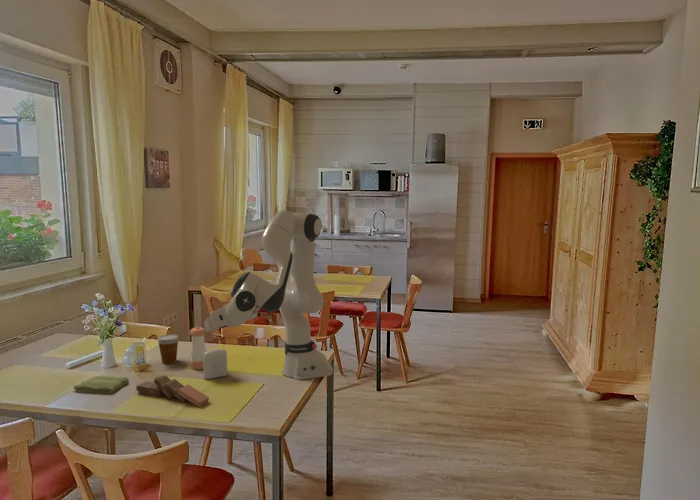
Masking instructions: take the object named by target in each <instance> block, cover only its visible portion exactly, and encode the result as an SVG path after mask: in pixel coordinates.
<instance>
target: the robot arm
mask: <svg viewBox="0 0 700 500" xmlns="http://www.w3.org/2000/svg"><path fill="white" fill-rule="evenodd" d="M321 231H322V221H321V218H320V217H319V215H316V214H314V213H306V212H299V211H296V212H292V211H290V210H286V209H282V210H278V211H277V212H276V213H275V214H274V215H273V217H271V219H270V221H269V222H268V224H267V225H266V227H265V229H264V231H263V233H262V236H261V239H260V240H261V241H260V242H261V245H262V248H263V250H264V251H265V253H266V254H267V255H268V256H269V257H270V258H271V259H272V260H273V262H274V263H275V265H276V266H277V274H276V277H275V282H274V283H271V282H269V280H266V279H264V278H262V277H261V276H259V275H257V274H255V273H253V272H251V271H246V272H244V273H242V274H241V275H239V277H238V279H237V281H235V283H234V285H233V286H232V289H231V291H230V296H231V299H230V300H229V302H228V303H227V304H226V305H224V306H222V307H221V308H219V309H216V310H213V311H211V312H210V313H209V314H210V315H209V316H208V317H207V318H206V319H205V321H204V324H203V326H204V329H205V331H206V333H210V332H213V331H216V330H220V329H224V328H231V327H233V328H235V327H239V326H242V325H243V324H244V323H245V322H246V321H249V320H252V319H255V318H257V316H258V314H259V313H258V312H259V311H260V309H262V310H264V311H265V312H267V313H273V312H277V311H280V313H281V317H282V319H283V322H284V323H283V324H284V331H285V332H284V334H285V341H284V346H283V347H284V351H283V352H284V354H285V356H284V362H283V363H284V365H283V367H282V368H283V369H282V375H284V376H286V377H289V378H293V379H295V380H299V381H300V380H307V379H314V378H315V379H316V378H321V377H322V378H323V377H329V376H331V375H333V373H334V368H333V366H332V364H330V363H329V362H328V359H327V357H326V355H325V354H324V353H323V352H321V351H320V350H318V349H317V347H318V346H317V344H316V342H315V341H314V340H311V323H310V321H309V320H308V319H307V318H306V317H305V315H304V314H315V313H318V312H320V311H321V310H322V308H323V306H324V296H323V294H322V292H321V291H320V290H319V288H318V287H317V285H316V281H315V276H314V267H315V266H314V264H315V256H316V255H315V254H316V242H315V241H316V239H317V238H318V237H319V236H320V234H321ZM289 276H291V277H292V279H293V281H294V285H293V284H288V281H289Z"/></svg>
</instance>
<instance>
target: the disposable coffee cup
mask: <svg viewBox="0 0 700 500" xmlns="http://www.w3.org/2000/svg"><path fill="white" fill-rule="evenodd" d="M179 339H180V338H179V336H178V335H177V334H174V333H173V334H171V333H170V334H164V335H161V336H158V339H157V343H158V348H159V353H160V358H161V362H162V364H165V365H169V364H170V365H171V364H174V363H176V362H177V359H178V358H177V357H178V345H179Z"/></svg>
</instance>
